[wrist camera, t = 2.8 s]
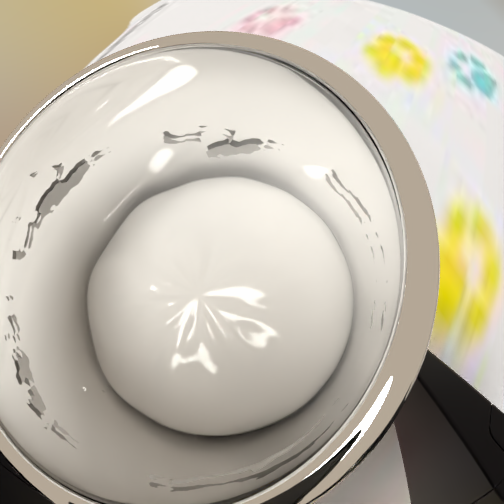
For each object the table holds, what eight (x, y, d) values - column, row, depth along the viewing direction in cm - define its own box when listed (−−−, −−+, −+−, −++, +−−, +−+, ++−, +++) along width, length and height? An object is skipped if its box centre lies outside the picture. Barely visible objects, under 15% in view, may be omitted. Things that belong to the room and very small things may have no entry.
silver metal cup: (191, 282, 18) (-7, 116, 4) (306, 261, 18) (325, 0, 4) (207, 397, 16) (-34, 477, 2) (329, 379, 15) (499, 491, 1)
